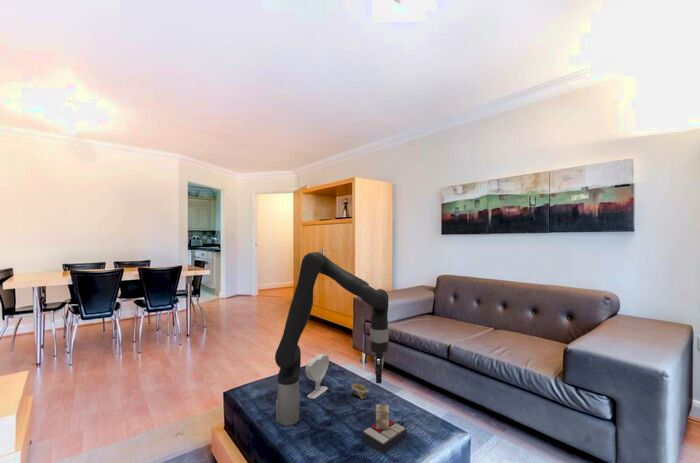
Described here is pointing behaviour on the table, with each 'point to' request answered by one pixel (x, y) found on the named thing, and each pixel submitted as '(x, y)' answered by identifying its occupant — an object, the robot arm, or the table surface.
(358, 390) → the olive plastic tub
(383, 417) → the maple block
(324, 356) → the heart sculpture
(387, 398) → the table surface
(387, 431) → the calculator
